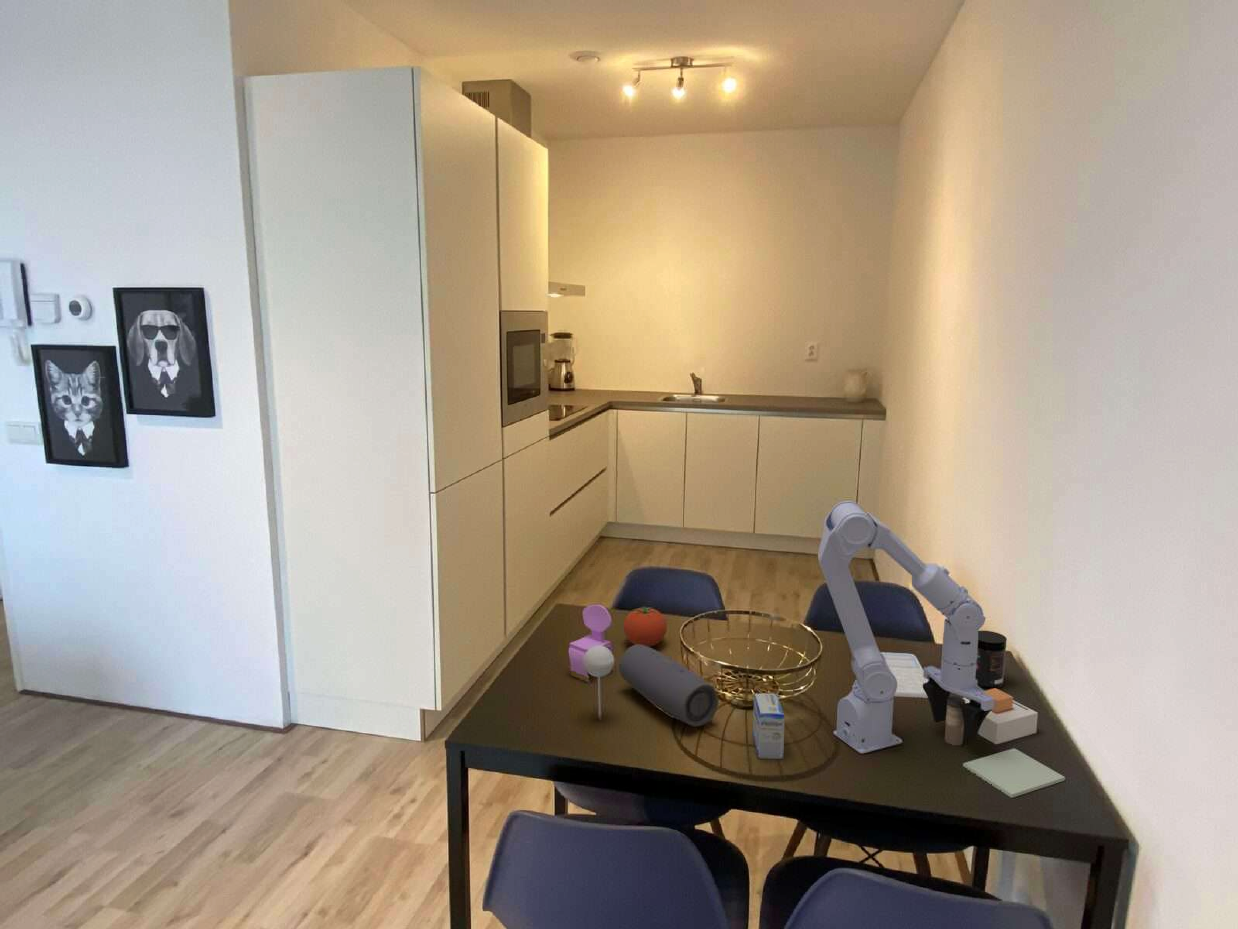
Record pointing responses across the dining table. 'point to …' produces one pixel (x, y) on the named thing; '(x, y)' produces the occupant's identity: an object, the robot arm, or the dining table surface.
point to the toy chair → (590, 637)
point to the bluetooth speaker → (669, 685)
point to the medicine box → (768, 726)
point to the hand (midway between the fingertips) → (954, 729)
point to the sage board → (1013, 772)
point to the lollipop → (598, 665)
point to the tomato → (645, 626)
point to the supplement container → (990, 659)
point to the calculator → (906, 674)
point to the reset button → (1000, 701)
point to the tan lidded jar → (954, 721)
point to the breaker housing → (1008, 724)
